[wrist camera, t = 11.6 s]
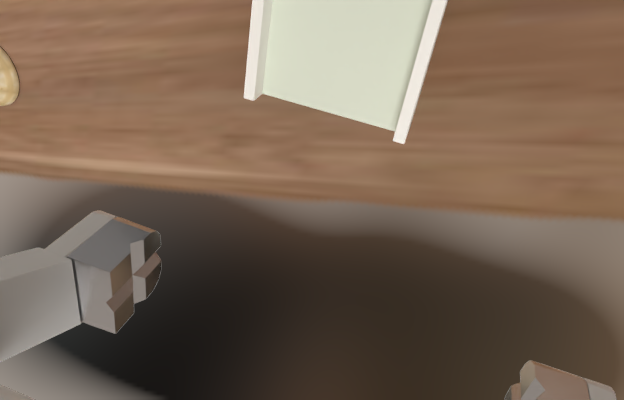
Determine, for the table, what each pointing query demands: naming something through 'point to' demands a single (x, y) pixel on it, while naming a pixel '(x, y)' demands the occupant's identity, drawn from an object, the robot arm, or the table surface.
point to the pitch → (344, 56)
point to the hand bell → (7, 80)
